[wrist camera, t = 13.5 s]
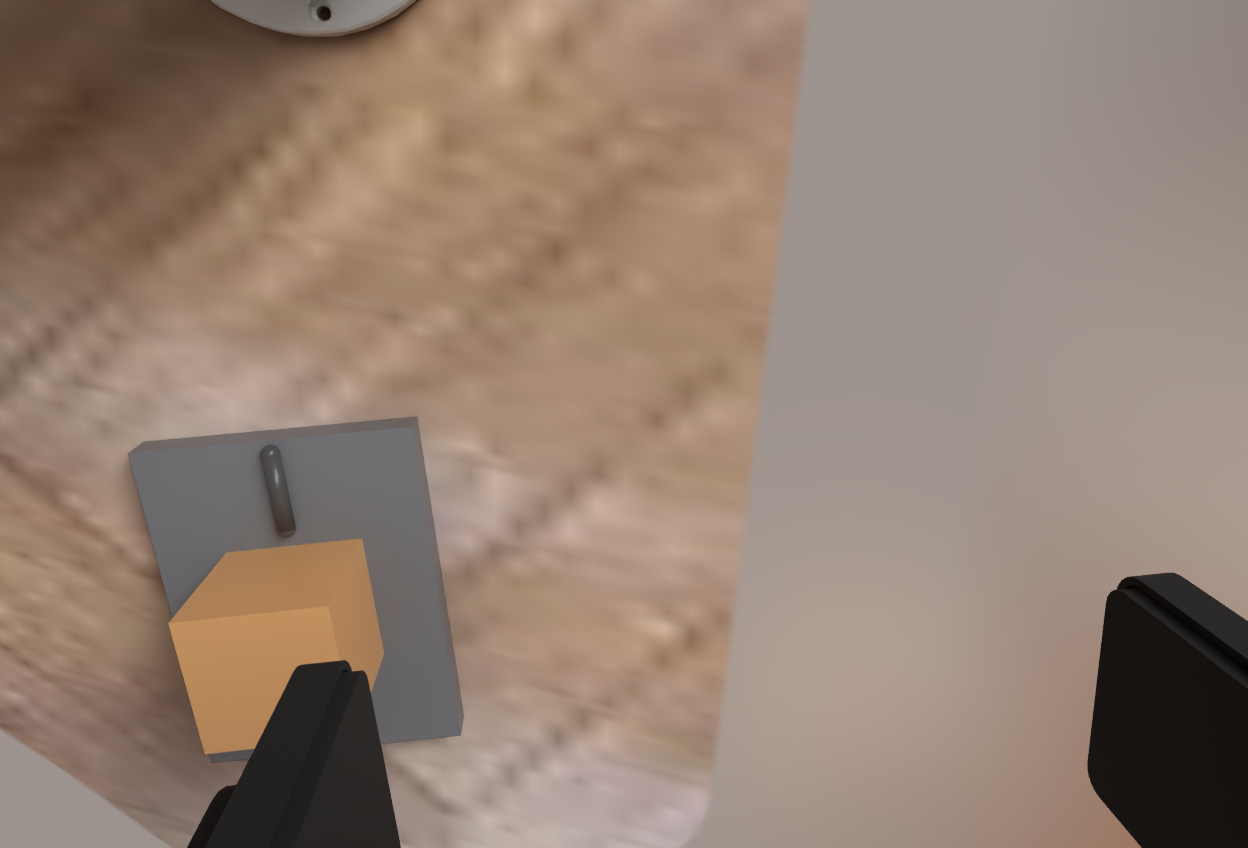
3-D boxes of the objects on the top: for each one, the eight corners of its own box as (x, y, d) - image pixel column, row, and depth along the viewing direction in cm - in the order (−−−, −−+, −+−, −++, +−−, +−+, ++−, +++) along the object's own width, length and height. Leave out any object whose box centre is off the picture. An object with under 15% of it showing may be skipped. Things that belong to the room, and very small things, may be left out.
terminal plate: (143, 442, 38) (77, 488, 32) (417, 416, 38) (394, 458, 33) (223, 742, 43) (176, 825, 37) (463, 715, 43) (451, 793, 38)
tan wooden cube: (226, 552, 38) (168, 623, 32) (362, 538, 38) (328, 606, 33) (255, 667, 40) (205, 754, 34) (384, 653, 40) (356, 737, 34)
